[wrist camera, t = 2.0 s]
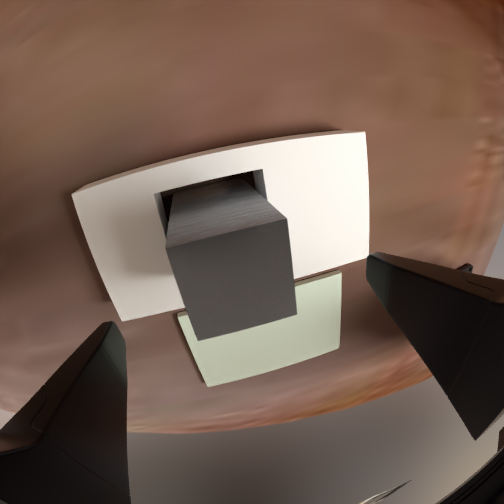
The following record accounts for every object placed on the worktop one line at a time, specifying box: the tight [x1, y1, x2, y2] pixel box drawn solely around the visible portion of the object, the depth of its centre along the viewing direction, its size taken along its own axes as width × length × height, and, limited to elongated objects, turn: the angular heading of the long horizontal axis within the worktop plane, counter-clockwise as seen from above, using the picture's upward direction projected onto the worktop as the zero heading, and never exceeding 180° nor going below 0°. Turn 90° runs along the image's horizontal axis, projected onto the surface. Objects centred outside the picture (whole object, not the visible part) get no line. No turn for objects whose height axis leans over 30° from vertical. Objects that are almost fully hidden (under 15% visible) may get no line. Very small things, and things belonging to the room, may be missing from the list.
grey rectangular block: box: [165, 178, 297, 341], centre depth 13 cm, size 4×4×8 cm
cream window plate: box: [71, 130, 369, 321], centre depth 16 cm, size 16×8×2 cm, turn 99°
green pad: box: [177, 270, 341, 387], centre depth 21 cm, size 12×8×1 cm, turn 99°
